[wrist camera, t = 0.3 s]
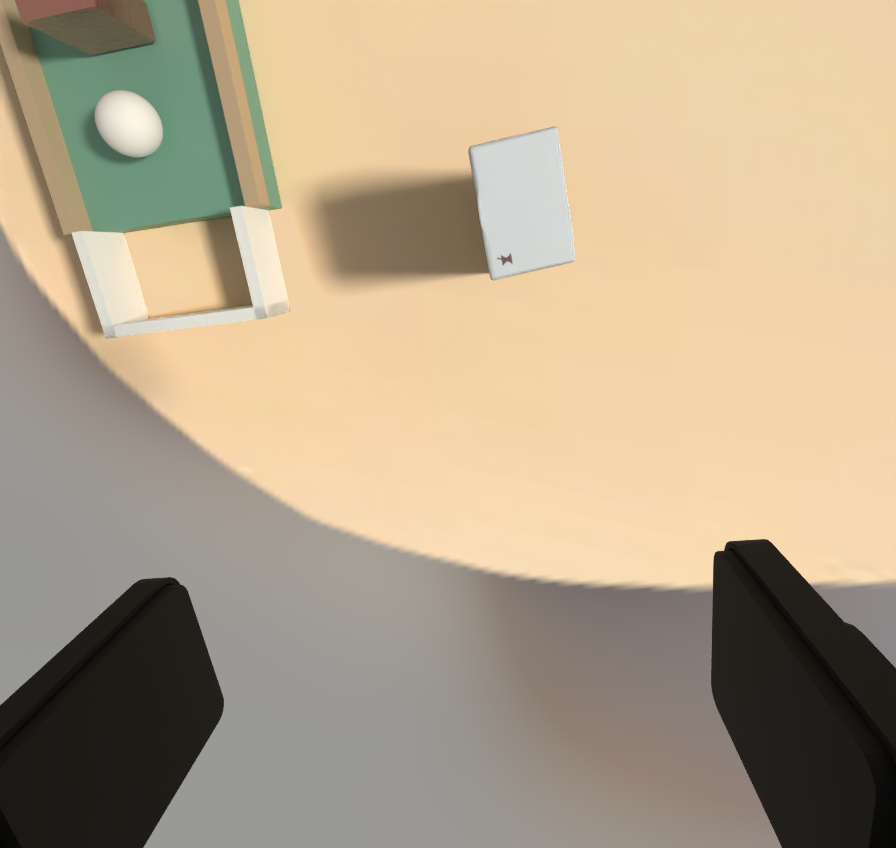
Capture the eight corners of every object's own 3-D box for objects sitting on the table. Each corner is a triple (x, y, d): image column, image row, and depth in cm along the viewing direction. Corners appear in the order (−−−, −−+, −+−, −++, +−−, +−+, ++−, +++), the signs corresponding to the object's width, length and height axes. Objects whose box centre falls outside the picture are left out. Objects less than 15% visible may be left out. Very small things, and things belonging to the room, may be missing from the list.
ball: (114, 104, 34) (70, 88, 30) (165, 94, 33) (127, 76, 30) (131, 165, 35) (91, 156, 31) (181, 156, 34) (146, 146, 31)
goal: (113, 234, 38) (71, 232, 35) (268, 210, 37) (241, 205, 33) (142, 330, 40) (105, 338, 37) (290, 311, 39) (267, 317, 35)
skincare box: (554, 260, 36) (578, 265, 25) (493, 273, 37) (488, 284, 25) (540, 164, 34) (559, 122, 23) (476, 180, 35) (463, 146, 23)
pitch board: (-38, -210, 31) (-103, -266, 28) (180, -275, 29) (139, -342, 26) (101, 236, 38) (63, 234, 35) (281, 208, 37) (260, 204, 33)
